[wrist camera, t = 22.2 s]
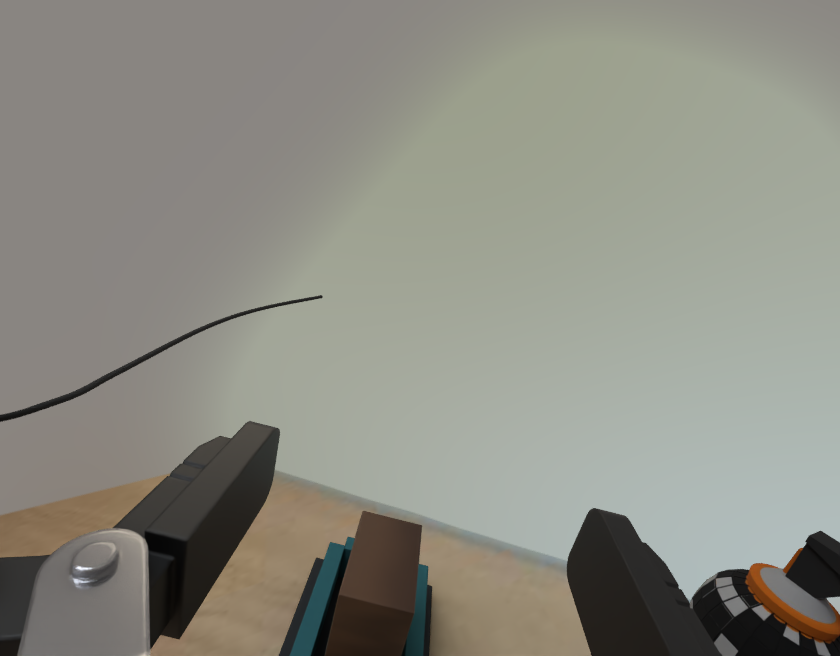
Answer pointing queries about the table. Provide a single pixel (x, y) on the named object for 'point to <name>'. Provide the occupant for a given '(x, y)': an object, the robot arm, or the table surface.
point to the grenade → (776, 605)
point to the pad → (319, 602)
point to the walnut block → (377, 589)
